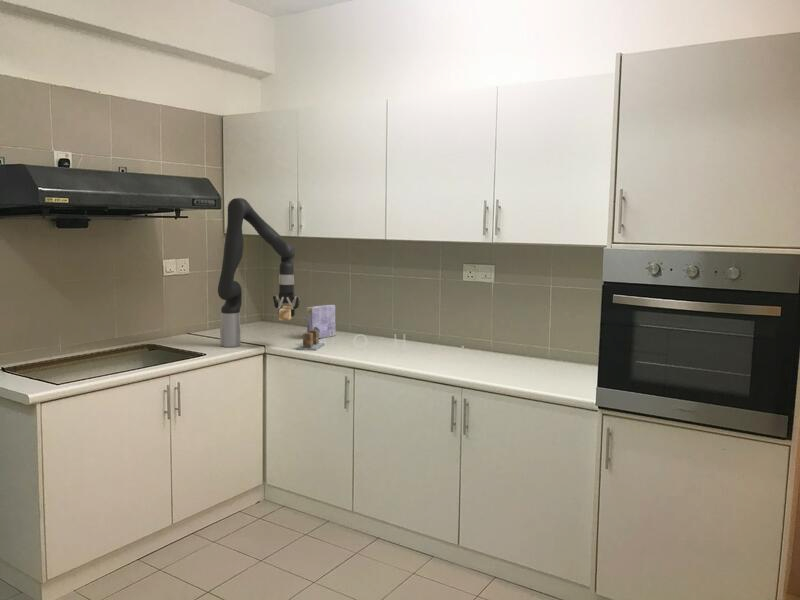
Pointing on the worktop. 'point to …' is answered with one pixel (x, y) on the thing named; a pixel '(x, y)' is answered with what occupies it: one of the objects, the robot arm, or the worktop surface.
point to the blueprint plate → (312, 347)
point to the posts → (310, 338)
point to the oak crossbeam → (285, 313)
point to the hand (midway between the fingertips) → (286, 316)
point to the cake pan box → (321, 320)
